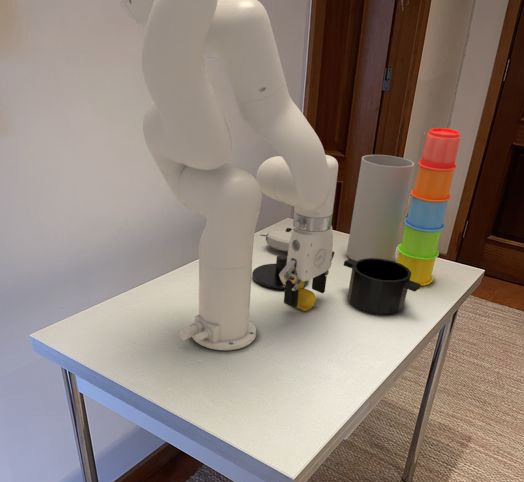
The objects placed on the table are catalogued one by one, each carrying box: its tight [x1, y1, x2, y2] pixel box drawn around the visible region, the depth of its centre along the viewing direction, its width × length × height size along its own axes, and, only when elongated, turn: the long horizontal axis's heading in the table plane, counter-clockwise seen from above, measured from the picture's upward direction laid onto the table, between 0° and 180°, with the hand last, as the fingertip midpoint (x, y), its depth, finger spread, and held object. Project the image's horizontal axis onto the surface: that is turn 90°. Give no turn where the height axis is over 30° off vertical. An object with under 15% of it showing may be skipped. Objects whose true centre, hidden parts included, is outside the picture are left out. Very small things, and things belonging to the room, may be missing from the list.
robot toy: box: [259, 227, 294, 253], centre depth 142 cm, size 12×4×15 cm
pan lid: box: [251, 254, 310, 290], centre depth 124 cm, size 13×13×6 cm
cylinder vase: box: [346, 154, 415, 261], centre depth 134 cm, size 12×12×25 cm
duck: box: [291, 279, 317, 312], centre depth 113 cm, size 7×4×6 cm, turn 49°
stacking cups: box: [396, 127, 462, 287], centre depth 122 cm, size 10×10×35 cm
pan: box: [343, 258, 422, 317], centre depth 116 cm, size 12×18×8 cm
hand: (304, 297), depth 114 cm, fingers open, 9 cm apart
